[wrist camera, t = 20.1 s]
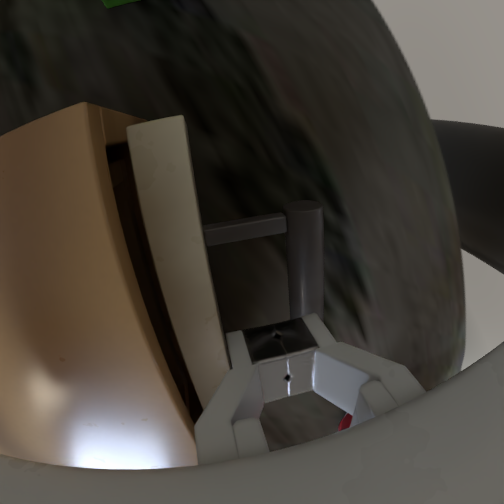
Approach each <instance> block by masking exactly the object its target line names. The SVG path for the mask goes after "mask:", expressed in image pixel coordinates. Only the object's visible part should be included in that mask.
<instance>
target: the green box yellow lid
mask: <svg viewBox="0 0 504 504" xmlns="http://www.w3.org/2000/svg"><path fill="white" fill-rule="evenodd" d="M102 1H103V3H104V4H105V6H106V7H107V8H112V7H115V6H119V5H123V4H126V3H130V2H135V1H139V0H102Z"/></svg>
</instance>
